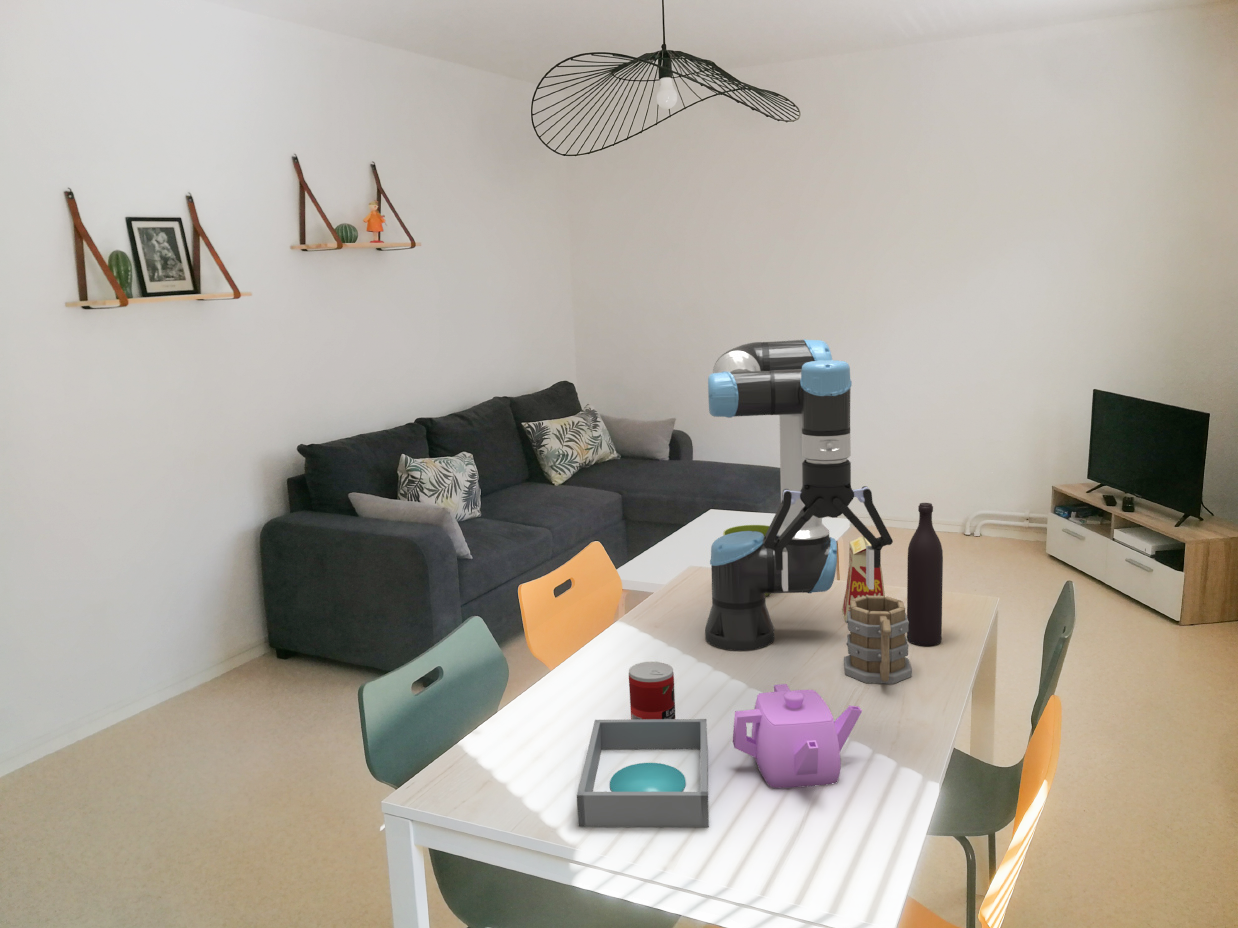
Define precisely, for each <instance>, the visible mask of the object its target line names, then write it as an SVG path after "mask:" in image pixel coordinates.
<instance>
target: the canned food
mask: <svg viewBox="0 0 1238 928" xmlns="http://www.w3.org/2000/svg"><path fill="white" fill-rule="evenodd" d="M674 674H675V673H674V668H673V667H672V666H671V665H670V664H667V663H665V662H661V661H643V662H639V663H636V664H633V665H632V666H630V668H629V670H628V686H629V687H628V688H629V704H630V706H629V707H630V720H632V719H676V699H675V697H676V696H675V695H676V694H675V675H674Z"/></svg>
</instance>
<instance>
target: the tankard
mask: <svg viewBox="0 0 1238 928" xmlns="http://www.w3.org/2000/svg"><path fill="white" fill-rule="evenodd" d="M905 606H906V605H905V604H904V602H903V601H902V600H900V599H897V598H895V597H894V598H893V597H891V596H890V597H889V596H887V595H885V596H866V597H865V596H862V597H859V598H856V599H853V600H851V601H850V611H848V612H847V620H846V622H845V623H846V624H847V630H848V631H849V634H847V635H846V637H847V638H846V639H847V641H846V643H845V645H846V646H847V652H848V655H846V656H844V657H843V666H844V675H846V676H848V677H850V678H853V679H856V680H858V681H860V682H862V683H864V684H876V685H878V684H883V685H885V684H886V685H895V684H897V683H899V682H901V681H904V680H906V679H908V678H911V677H912V675H913V674H912V673H913V672H912V669H913V668H912V666H911V662H910V659H909V658H908V656H909V643H908V639H907V635H906V634H907V632H908V624H909V621H908V619H907V612H906V607H905Z"/></svg>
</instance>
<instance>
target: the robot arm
mask: <svg viewBox="0 0 1238 928" xmlns="http://www.w3.org/2000/svg"><path fill="white" fill-rule="evenodd" d="M830 349H831V348H830V347H829V345H828V344H827V342H825V341H824V340H822V339H821V340H820V339H819V340H818V339H806V338H804V339H794V340H777V341H776V340H775V341H763V342H762V341H755V342H749V343H745V344H741V345H739V346H736V347H734V348H731V349H729V350H727V351H726V352H724V353H723V354H722V355H720V356H719V357H718V359H717V360H716V361H715V363H714V366H713V369H712V373H710V374H709V376H708V378H707V387H708V389H707V392H708V394H707V395H708V413H709V415H711V417H712V416H713V417H714V418H715V417H716V418H728V419H729V418H733V417H734V418H735V417H752V416H753V417H754V416H779V456H780V457H779V460H780V461H779V463H780V464H779V465H780V467H779V468H780V504H779V507H778V509H777V510H776V513H775V515H774V517H773V518H772V521H771V523H770V525H769V526H770V527H769V529H768V531H767V533H766V535H765V537H764V535H763V534H762V533H761V532H757V531H755V532H752V531H741V532H735V533H731V534H727V535H722V536H720V537H718V538H716V539H715V540H714V541H713V543H712V544H711V547H710V560H709V564H710V566H711V600H712V601H711V608H710V610H709V611H710V612H709V613H708V617H707V622H706V625H705V626H704V627H705V628H704V629H705V630H704V634H705V637H704V638H705V640H706V642H707V643H708V644H709V645H711V646H713V647H715V648H718V649H721V650H726V651H728V650H729V651H751V650H752V651H753V650H757V649H758V650H759V649H762V648H765V647H768V645H771V644H772V643H773V642H774V640H775V627H774V623H773V621H772V618H771V615H770V613H769V610H768V608H767V603H766V597H765V593H770V594H789V593H790V594H795V593H796V594H797V593H798V594H799V593H800V594H804V593H805V594H812V593H825V592H827V591H828V590H830V589H831V587H832V586H833V584H834V581H835V576H836V571H837V560H838V555H837V554H838V543H837V541H836V539H835V538H834V537H831V536H830V529H828V528H827V527H826V526H825V525H824V524H823V518H824V519H825V518H827V517H828V518H832V519H833V518H838V517H840V516H841V515H844V518H846V519H847V520H848V521H849V522H850V523H851V524H852V526H853V527H854V528H855V529H856V530H857V531H858V532H859V533H860V534H861V536H864V537H865V538H866V540H867V541H868V542H869V543H870V544H871V546H866V585H867V587H868V588H869V589H874V568H879V567H880V565H881V566H882V564H881V561H882V560H881V557H882V556H881V554H882V553H881V552H882V549H883V547H886V546H891V545H893V542H894V541H893V539H892V537H891V534H890V532H889V531H888V529H887V527H886V525H885V523H884V520H883V519H882V517H881V516H880V514H879V512H878V510H877V508H876V506H875V504H874V501H873V494H872V490H871V489H870V488H869V487H868V486H862V487H861V488H856V489H853V488H852V480H851V479H852V475H851V474H852V471H851V470H852V465H851V463H852V462H851V461H850V460H849V458H850V457H851V456H852V454H851V448H852V447H851V444H852V443H851V388H852V386H853V385H852V380H851V367H850V364H849V363H848V362H847V361H844V360H837V359H835V360H834V359H833V355H832V351H831V350H830ZM854 498H857V500H858V501H859V502H860V503H863V505H864V507H865V509H866V511H867V513H868V515H869V517H870V518H871V521H872V522H873V524H874V526H875V528H876V530H877V532H878V533H879V535H880V536H879V537H876V536H875V534H873V532H871V530H869V529H868V527H867V526H866V525H865V524H864V522H862V521H861V520H860V518H858V516H857V515H856V514H855V513H854V512H853V510H852V509H850V507H849V505H850V504H851V503H852V501H853V500H854Z"/></svg>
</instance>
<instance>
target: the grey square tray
mask: <svg viewBox="0 0 1238 928" xmlns="http://www.w3.org/2000/svg"><path fill="white" fill-rule="evenodd" d="M707 726H708V724H707V718H680V719H679V718H675V719H632V720H631V719H594V723H593V726H592V730H591V735H590V738H589V743H588V746H587V750H586V755H585V760H584V764H583V768H582V771H581V776H580V780H579V784H578V788H577V792H576V804H577V821H578V823H577V824H578V827H587V828H588V827H592V828H593V827H595V828H597V827H599V828H600V827H601V828H602V827H606V828H607V827H609V828H610V827H611V828H612V827H613V828H616V827H619V828H620V827H625V828H626V827H629V828H630V827H631V828H639V827H640V828H644V827H645V828H647V827H648V828H677V827H678V828H709V825H710V824H709V823H710V820H709V818H710V817H709V816H710V815H709V765H708V762H709V759H708V757H709V756H708V727H707ZM602 750H603V751H605V750H607V751H609V750H611V751H612V750H613V751H615V750H617V751H619V750H624V751H625V750H628V751H629V750H700V791H684V790H685V788H686V784H687V783H686V781H687V780H686V777H685V775H684V774H683V772H682V771H680V770H679V769H677V768H676V767H675V766H671V765H669V764H664V763H658V762H642V763H641V762H640V763H635V764H630V765H628V766H624V767H623V768H621V769H619V770H617V771H616V772H615V773H614V774H613V775H612V777H611V778H610V781H609V788H610V791H594V787H595V784H596V783H595V782H596V778H597V774H598V770H599V769H598V768H599V763H600V760H601V755H602Z"/></svg>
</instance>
